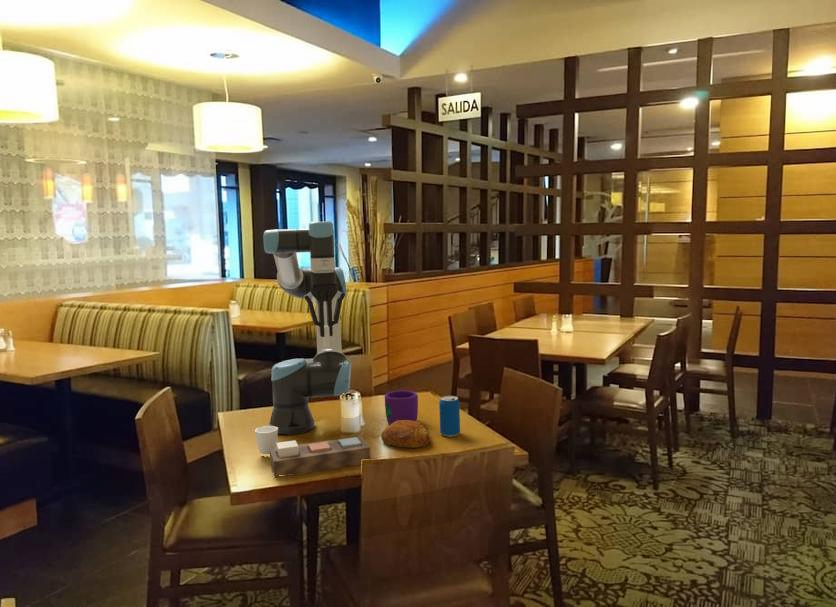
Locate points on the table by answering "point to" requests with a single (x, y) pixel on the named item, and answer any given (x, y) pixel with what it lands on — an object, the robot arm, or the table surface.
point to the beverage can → (449, 416)
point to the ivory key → (287, 449)
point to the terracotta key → (318, 447)
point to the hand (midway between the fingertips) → (326, 346)
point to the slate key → (349, 443)
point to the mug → (401, 406)
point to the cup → (266, 438)
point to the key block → (319, 458)
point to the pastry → (406, 434)
